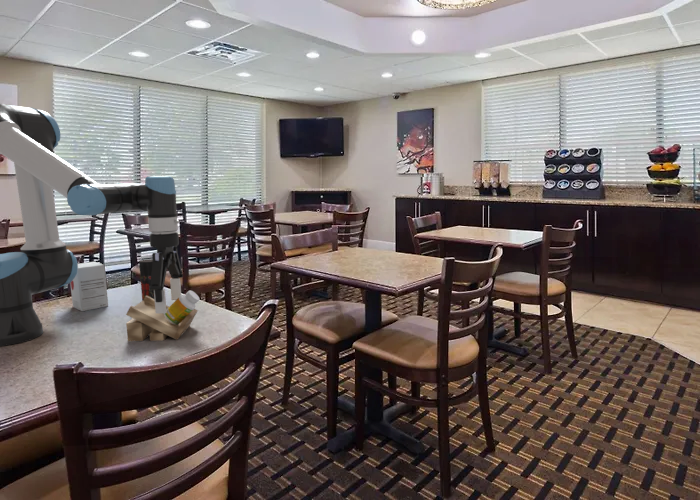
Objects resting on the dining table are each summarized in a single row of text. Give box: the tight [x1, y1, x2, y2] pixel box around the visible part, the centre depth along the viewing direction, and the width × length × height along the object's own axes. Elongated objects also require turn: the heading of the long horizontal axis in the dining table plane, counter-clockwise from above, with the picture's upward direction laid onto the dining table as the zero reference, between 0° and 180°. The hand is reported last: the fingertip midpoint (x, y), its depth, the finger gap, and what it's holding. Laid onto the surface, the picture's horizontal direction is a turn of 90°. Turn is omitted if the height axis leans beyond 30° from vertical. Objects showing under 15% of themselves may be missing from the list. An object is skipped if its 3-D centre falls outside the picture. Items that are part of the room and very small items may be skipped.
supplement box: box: [69, 261, 109, 312], centre depth 162 cm, size 9×9×15 cm
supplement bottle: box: [164, 290, 200, 325], centre depth 134 cm, size 5×5×10 cm
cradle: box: [125, 295, 199, 342], centre depth 134 cm, size 16×12×10 cm
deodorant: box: [138, 258, 154, 302], centre depth 168 cm, size 6×6×15 cm
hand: (169, 306), depth 134 cm, fingers open, 13 cm apart
